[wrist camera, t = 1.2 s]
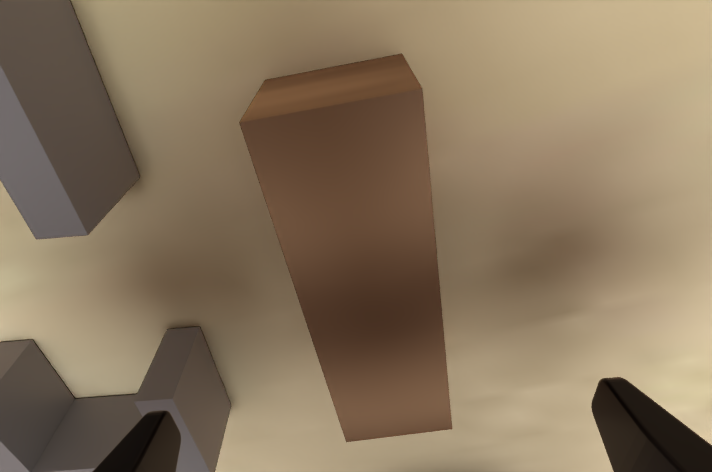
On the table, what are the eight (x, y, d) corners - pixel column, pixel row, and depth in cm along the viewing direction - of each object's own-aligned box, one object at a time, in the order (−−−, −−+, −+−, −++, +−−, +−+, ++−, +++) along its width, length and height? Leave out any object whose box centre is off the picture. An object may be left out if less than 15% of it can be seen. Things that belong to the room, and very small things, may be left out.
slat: (433, 346, 17) (452, 429, 14) (345, 358, 17) (346, 441, 14) (400, 51, 11) (422, 89, 8) (266, 77, 11) (238, 122, 8)
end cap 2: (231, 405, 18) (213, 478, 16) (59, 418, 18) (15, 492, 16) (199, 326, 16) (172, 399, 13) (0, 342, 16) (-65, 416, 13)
